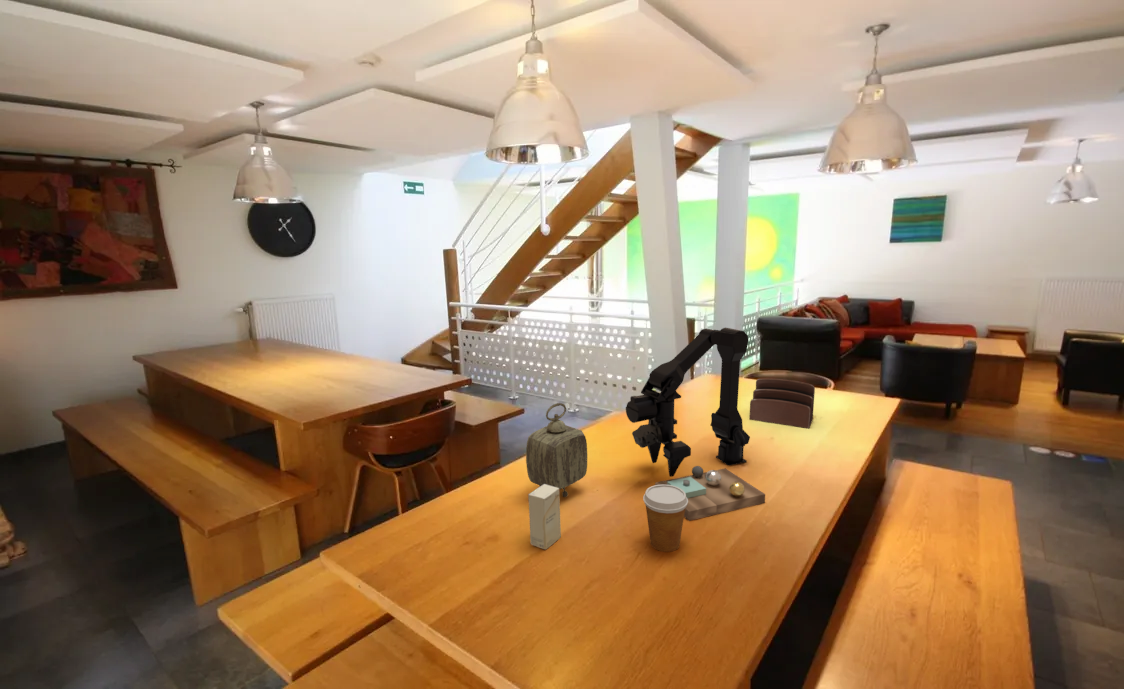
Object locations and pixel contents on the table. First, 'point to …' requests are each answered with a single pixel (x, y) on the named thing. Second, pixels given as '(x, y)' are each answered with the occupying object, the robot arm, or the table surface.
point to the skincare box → (544, 516)
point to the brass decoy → (736, 489)
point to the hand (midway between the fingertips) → (662, 469)
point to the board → (719, 496)
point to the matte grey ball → (697, 471)
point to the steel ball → (713, 477)
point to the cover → (689, 486)
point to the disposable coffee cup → (665, 515)
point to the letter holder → (783, 402)
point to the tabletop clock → (556, 454)
